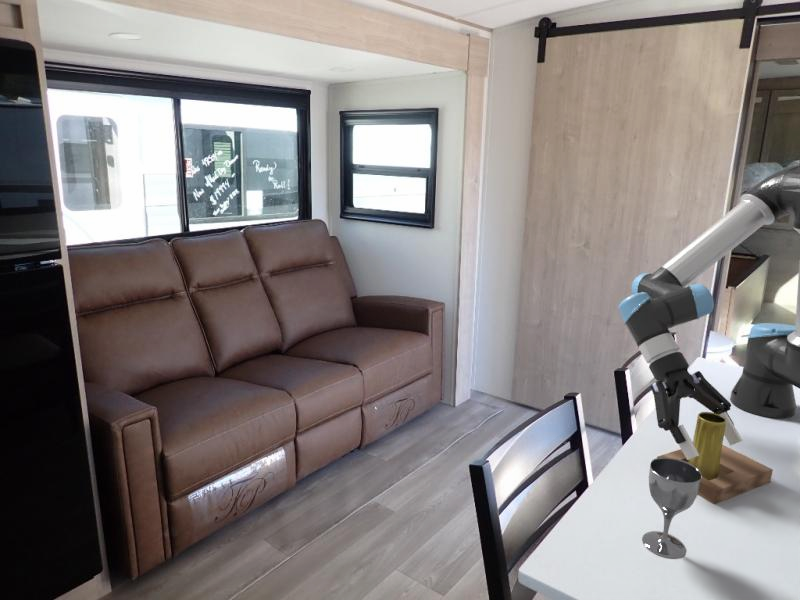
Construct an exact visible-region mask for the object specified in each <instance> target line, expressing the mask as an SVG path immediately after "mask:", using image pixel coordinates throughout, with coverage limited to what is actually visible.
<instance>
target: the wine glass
mask: <svg viewBox="0 0 800 600" xmlns="http://www.w3.org/2000/svg"><path fill="white" fill-rule="evenodd" d="M648 470H649V473H648V486H649V487H648V488H649V492H650V496H651V498H652V499H653V501H654V502H655V504H656V505H657V506H658V508H659V509H660V510H661V512H662V515H663V531H658V530H656V531H655V530H654V531H653V530H652V531H648V532H646V533H644V534H643V535H642V538H641V541H642V544H643V546H644V547H645V548H646V549H647V550H648V551H650V552H651V553H653V554H655V555H657V556H658V557H662V558H664V559H665V558H666V559H672V560H673V559H680V558H682V557H684V556H685V555H686V553H687V548H686V546H685V544H684V542H683V541H681V540H680V539H679V538H677V537H676V536H675V535H672V534H671V533H669V529H670V527H671V522H672V520H673V519H674V517H676V515H678V514H680V513H683V512H685V511H686V510H688V509H689V508H691V507H692V506H693V504H694V503H695V501H696V499H697V497H698V491H699V488H700V484H701V472H700V471H699V470H698V469H697V468H696V467H695V466H693V465H692V464H690V463H688V462H685V461H683V460H680V459H676V458H669V457H661V458H657V457H656V458H654V459H652V460H651V462H650V465H649V469H648Z"/></svg>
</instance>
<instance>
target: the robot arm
mask: <svg viewBox="0 0 800 600" xmlns="http://www.w3.org/2000/svg"><path fill="white" fill-rule="evenodd" d="M739 200H740V202H739V203H738V204H737V205H736V206H735V207H733V208H732V209H731V210H730V211H728V212H727V213H726V214H725V215H723V216H722V217H721V218H719V220H717V221H716V222H715V223H713V224H712V225H711V226H710V227H708V228H707V229H706V230H705V231H704V232H703V233H701V234H700V235H699V236H698V237H696V238H695V239H693V241H691V242H690V243H688V245H686V246H685V247H684V248H683V249H681V250H679V252H678V253H676V254H675V255H674V256H673V257H671V258H670V259H669V260H668V261H667V262H665V264H663V265H662V266H660V267H659V268H658V269H657V270H655V271H653V273H649V272H645V273H641V274H639V275H637V276H636V277H635V278H634V280H633V281H632V283H631V293H632V294H631V295H629V296H628V297H626V298H624V299H623V300H622V301H620V303H619V305H618V312H619V314H620V316H621V318H622V321H623V323H624V325H625V326H626V328H627V330H628V331H629V333H630V335H631V336H632V339H633V340H634V342H635V343H636V346H637V348H638V350H639V352H640V353H641V355H642V357H643V359H644V360H645V362H646V363H647V364H649V366H648V369H649V370H650V372H651V374H652V376H653V377H654V379H655V382H654V383H652V384H650V386H649V387H650V389H651V392H652V394H653V397H654V405H655V411H656V412H655V413H656V414H655V415H656V421H657V426H658V428H660V429H663V430H664V431H666V432H668V431H669V432H670V433H671V435H672V437H673V439H674V441H675V443H676V444H677V445H679V448H680V449H682V451H683V453H684V455H685V457H686V459H687V460H689V459H691V458H694V457H697V456H699V454H698V452H697V450H696V448H695V446H694V444H693V440H692V439H691V437H690V435H689V433H688V432H687V430H686V428H685V426H684V424H679V423H680V411H681V410H680V408H681V399H683V398H684V399H686V398H690V399H694V400H695V401H697V403H700V405H702V406H703V407H705V408H706V409H708V410H709V411H710V412H711V413H715V414H718V415H721V416H723V417H724V418H725V419H726V420H727V422H726V427H725V432H724V437H725V439H726V440H727V443H728V444H729V446H734V445H736V444H739V443H741V442H743V439H742V437H741V435H740V434H739V432H738V430H737V428H736V426H735V424H734V421H733V420H732V419H731V417H730V415H729V413H728V411H731V407H732V405H734V406H735V407H737V408H738V409H740V410H743V411H745V412H748V413H750V414H754V415H756V416H757V415H758V416H762V417H766V418H767V417H768V418H774V419H775V418H776V419H778V418H779V419H783V418H790V417H792V416H794V415H795V413H796V408H797V401H796V396H795V391H794V387H796V388H797V389H800V261H799V262H798V263H799V264H798V280H797V295H796V297H797V298H796V311H795V313H796V314H795V325H791V324H786V323H775V322H772V323H771V322H767V323H766V322H762V323H761V322H759V323H757V324H756V323H755V324H754V325H752V326H751V328H750V331H749V335H748V337H747V343H746V344H747V345H746V349H745V356H744V360H743V361H744V362H743V367H742V373H741V375H740V377H739V378H738V380H737V382H736V383H735V385H734V386H733V388H732V389H731V391H730V396H729V397H730V398H729V400H730V401H729V400H728V399H727V398H725V397H724V395H723V394H722V393H721V392H720V391H718V389H716V387H715V386H713V384H711V383H710V382H709V381H708V380H707V379H706V378H705V376H704V375H703V373H702V372H701V371H699V370H698V371H695V372H694V373H692V374H691V373H690V372H689V371H688V369H689V367H690V364H689V363H688V360H686V357H685V355H684V354H683V352H681V351H680V346H679V345H678V343H677V341H676V340H675V338H674V337H673V334H672V333H671V331H670V329H671V328H674V327H676V326H679V325H684V324H685V323H689V322H692V321H694V320H695V321H696V320H700V318H702V317H705V316H707V315H709V314H711V313H713V310H714V308H715V302H714V297H713V295H712V292H711V291H710V289H708V287H707V286H705V285H704V284H703V283H695V284H692V285H691V283H692V282H694V281H695V280H696V279H697V278H698V277H700V276H701V275H702V274H703V273H705V272H706V271H708V270H709V269H710V268H711V267H712V266H714V265H715V264H716V263H717V262H719V261H720V260H721V259H722V258H724V257H725V256H726V255H727V254H729V253H730V252H731V251H733V250H734V249H735V248H736V247H738V246H739V245H741V243H743V242H744V241H745V240H746V239H748V238H749V237H750V236H751V235H753V234H754V233H755V232H756V231H757V230H758V229H760V228H762V227H763V226H764V225H766V226H770V225H771V224H772V225H773V223H775V221H777V220H779V219H780V218H782V217H786V216H789V215H792V216H793V218H794V219H793V229H794V230H795V231H796V232H797V233H798V234H800V164H796V165H791V166H787V167H785V168H782V169H780V170H778V171H775V172H773V173H772V174H770V175H768V176H766V177H765V178H764V179H762V180H760V181H759V182H758V183H756V184H755V185H754V186H753V187H752V186H751V188H750V189H749V190H747V191H746V192H745V193H744V194H742V195H741V197H740V199H739Z"/></svg>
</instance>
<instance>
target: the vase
mask: <svg viewBox="0 0 800 600" xmlns="http://www.w3.org/2000/svg"><path fill="white" fill-rule="evenodd" d="M696 418H697V420H696V424H695V425H696V426H695V430H694V435H693V438H692V439H693V440H692V442H693V444H694V446H695V448H696V450H697V452H698V454H699V456H697V457H694V458H691V459H689V463H690V464H692V465H693V466H695V467H696V468H697V469H698V470H699V471H700V472H701V476H702V477H704V478H706V479H707V480H712V479H715V478H718V477H719V476H718V473H719V465H720V458H721V450H722V445H724V444H723V442H724V437H725V435H724V432H725V427H726V422H727V420H726V419H725V418H724V417H723V416H721V415H718V414H715V413H713V412H712V411H710V412H709V411H701V412H699V413H698V414H697V417H696Z"/></svg>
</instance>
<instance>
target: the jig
mask: <svg viewBox="0 0 800 600" xmlns="http://www.w3.org/2000/svg"><path fill="white" fill-rule="evenodd" d="M661 457H669V458H676V459H680V460H683V461H685V462H688V463H689V460H687V459H686V457H685V455H684V453H683V451H682V449H681V448H680V449H677V450H674V451H670V452H668V453H664V454H661V455H658V456H656V458H661ZM773 471H774V469H772V468H770V467H768V466H767V465H764V464H763V463H760V462H758V461H756V460H754V459H753V458H750V457H749V456H747V455H744V454H742V453H741V452H738V451H737V450H734V449H732V448H730V447H728V446H727V445H724V444H722V450H721V458H720V465H719V473H718V478H715V479H712V480H707V479H706V478H704V477H702V476H701V484H700V488H699V491H698V494H697V496H699V497H701V498H703V499H705V500H706V501H708V502H709V503H712V504H713V505H715V504H719V503H720V502H722V501H726V500H728V499H730V498H734V497H736V496H738V495H742V494H743V493H746V492H748V491H751V490H754V489H757V488H758V487H762V486H764V485H766V484H768V483H771V482H772V475H773Z"/></svg>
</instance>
